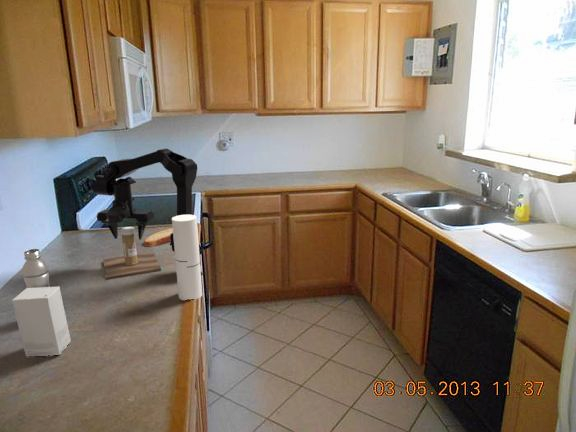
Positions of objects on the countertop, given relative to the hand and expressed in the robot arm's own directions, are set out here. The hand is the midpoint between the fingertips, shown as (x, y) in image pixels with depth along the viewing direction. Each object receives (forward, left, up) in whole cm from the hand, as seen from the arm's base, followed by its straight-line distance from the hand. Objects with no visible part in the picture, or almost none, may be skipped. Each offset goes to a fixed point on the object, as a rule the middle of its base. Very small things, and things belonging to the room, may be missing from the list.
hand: (128, 238), depth 151 cm
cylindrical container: (-33, -14, -11) cm, 37 cm away
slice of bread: (+25, -17, -11) cm, 32 cm away
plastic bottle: (-29, +26, -11) cm, 40 cm away
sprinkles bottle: (0, 0, -10) cm, 10 cm away
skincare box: (-47, +24, -11) cm, 54 cm away
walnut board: (0, 0, -10) cm, 10 cm away
